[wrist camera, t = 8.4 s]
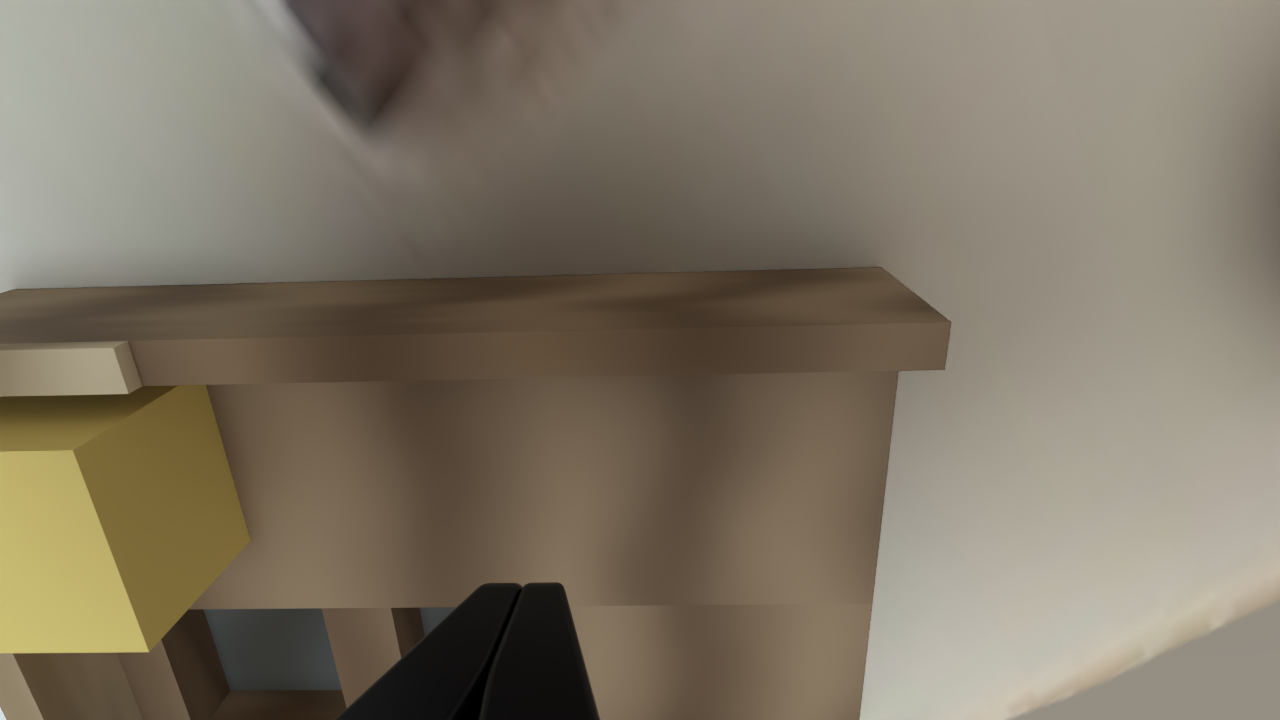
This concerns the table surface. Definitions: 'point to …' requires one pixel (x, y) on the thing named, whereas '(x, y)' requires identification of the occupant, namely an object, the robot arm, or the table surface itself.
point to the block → (110, 517)
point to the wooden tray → (507, 479)
